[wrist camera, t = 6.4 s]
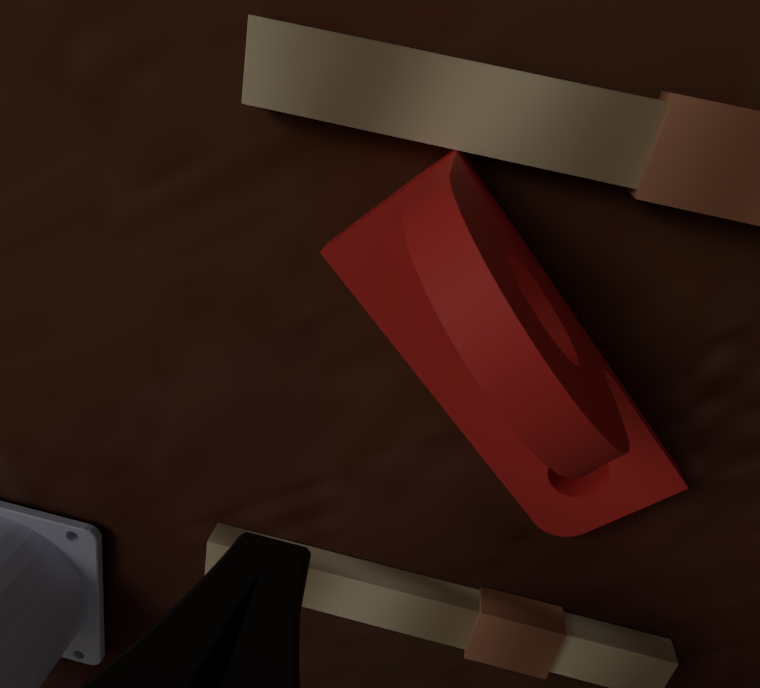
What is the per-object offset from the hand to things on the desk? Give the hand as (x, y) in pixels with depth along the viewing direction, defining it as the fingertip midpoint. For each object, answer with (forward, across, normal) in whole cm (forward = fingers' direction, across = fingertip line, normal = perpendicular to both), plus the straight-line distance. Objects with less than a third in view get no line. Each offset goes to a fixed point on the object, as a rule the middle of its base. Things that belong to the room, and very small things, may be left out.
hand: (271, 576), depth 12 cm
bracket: (+9, -5, -2) cm, 10 cm away
